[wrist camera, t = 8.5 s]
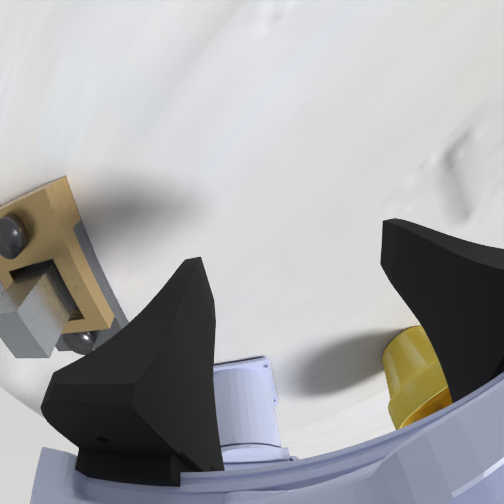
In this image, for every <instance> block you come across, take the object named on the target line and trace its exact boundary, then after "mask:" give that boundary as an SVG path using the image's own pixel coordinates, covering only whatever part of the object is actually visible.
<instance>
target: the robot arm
mask: <svg viewBox="0 0 504 504" xmlns="http://www.w3.org/2000/svg"><path fill="white" fill-rule="evenodd" d="M380 264H381V266H382V268H383V270H384V272H385V274H386V275H387V277H388V279H389V281H390V282H391V284H392V285H393V287H394V288H395V289H396V291H397V292H398V293H399V295H400V296H401V297H402V299H403V300H404V301H405V303H406V304H407V305H408V307H409V308H410V310H411V311H412V312H413V314H414V315H415V316H416V318H417V319H418V321H419V322H420V324H421V325H422V327H423V329H424V331H425V333H426V335H427V337H428V338H429V340H430V342H431V344H432V346H433V349H434V351H435V353H436V355H437V358H438V360H439V362H440V365H441V368H442V370H443V373H444V376H445V379H446V382H447V385H448V388H449V392H450V395H451V399H452V403H453V404H451V405H449V406H447V407H445V408H443V409H442V410H440V411H438V412H436V413H434V414H432V415H430V416H427V417H425V418H423V419H421V420H419V421H417V422H414V423H412V424H410V425H408V426H405V427H403V428H401V429H398V430H396V431H393V432H391V433H388V434H385V435H383V436H380V437H377V438H375V439H372V440H369V441H366V442H363V443H360V444H357V445H354V446H351V447H347V448H344V449H341V450H337V451H334V452H330V453H326V454H322V455H318V456H314V457H310V458H306V459H301V460H300V459H299V458H298V457H296V456H290V455H289V450H288V448H287V447H286V448H282V444H281V438H280V433H279V428H278V422H277V417H276V411H275V406H277V405H278V404H279V403H278V398H277V393H276V388H275V384H274V379H273V374H272V370H271V365H270V360H269V358H266V357H263V358H258V359H252V360H247V361H241V362H235V363H229V364H222V365H216V366H214V347H215V328H216V318H215V305H214V298H213V295H212V292H211V288H210V285H209V282H208V279H207V275H206V272H205V269H204V265H203V262H202V259H201V257H196V258H191V259H186V260H184V262H183V263H182V264H181V265H180V266H179V268H178V269H177V270H176V271H175V273H174V274H173V275H172V277H171V278H170V279H169V280H168V282H167V283H166V284H165V285H164V287H163V288H162V289H161V290H160V291H159V293H158V294H157V295H156V296H155V297H154V298H153V299H152V301H151V302H150V303H149V304H148V305H147V306H146V307H145V308H144V309H143V310H142V311H141V312H140V313H139V314H138V315H137V316H136V317H135V318H134V319H133V320H132V321H131V322H130V323H129V324H127V325H126V326H125V327H124V328H123V329H121V330H120V331H119V332H118V333H116V334H115V335H114V336H113V337H111V338H110V339H109V340H108V341H106V342H105V343H103V344H102V345H101V346H99V347H98V348H96V349H95V350H93V351H92V352H90V353H88V354H87V355H85V356H84V357H82V358H80V359H79V360H77V361H75V362H73V363H71V364H69V365H67V366H65V367H63V368H62V369H60V370H58V371H56V372H54V373H53V375H52V378H51V380H50V383H49V386H48V388H47V391H46V393H45V396H44V399H43V402H42V405H41V411H42V414H43V416H44V417H45V419H46V420H47V422H48V423H49V424H50V425H51V426H53V427H54V428H55V429H56V430H57V431H58V432H59V433H61V434H62V435H63V436H64V437H66V438H67V439H68V440H69V441H71V442H72V443H74V444H75V445H76V446H77V447H79V452H78V457H77V456H76V455H73V454H71V453H68V452H64V451H59V450H55V449H51V448H46V447H43V448H42V450H41V454H40V458H39V462H38V466H37V470H36V475H35V480H34V485H33V490H32V496H31V501H30V504H504V249H500V248H495V247H489V246H485V245H481V244H477V243H473V242H469V241H465V240H462V239H459V238H456V237H453V236H450V235H447V234H444V233H441V232H438V231H435V230H432V229H430V228H427V227H424V226H421V225H418V224H415V223H412V222H409V221H406V220H402V219H396V218H394V219H389V220H384V221H383V229H382V248H381V263H380Z"/></svg>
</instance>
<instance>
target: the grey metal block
mask: <svg viewBox="0 0 504 504" xmlns="http://www.w3.org/2000/svg"><path fill="white" fill-rule="evenodd" d="M76 305H77V304H76V302H75V301H74V299H73V297H72V295H71V293H70V292H69V290H68V288H67V286H66V284H65V282H64V280H63V278H62V276H61V274H60V272H59V270H58V268H57V266H56V264H55V262H54V260H53V259H49V260H46V261H42V262H39V263H35V264H32V265H28V266H26V267H25V268H24V269H23V270H22V271H21V273H20V274H19V275H18V276H17V277H16V278H15V280H14V281H13V282H12V283H11V284H10V286H9V287H8V288H7V289H6V290H5V292H4V293H3V294H2V295H1V297H0V338H1V339H2V340H3V342H4V343H5V345H6V346H7V347H8V349H9V350H10V351H11V352H12V354H13V355H14V356H15V358H50V356H51V353H52V351H53V349H54V347H55V345H56V343H57V341H58V339H59V337H60V335H61V333H62V331H63V329H64V327H65V325H66V323H67V321H68V319H69V318H70V316H71V314H72V312H73V310H74V308H75V306H76Z"/></svg>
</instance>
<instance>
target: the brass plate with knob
mask: <svg viewBox="0 0 504 504" xmlns="http://www.w3.org/2000/svg"><path fill="white" fill-rule="evenodd" d="M49 259H53V260H54V262H55V264H56V266H57V268H58V270H59V272H60V274H61V276H62V278H63V280H64V282H65V284H66V286H67V288H68V290H69V292H70V293H71V295H72V297H73V299H74V301H75V302H76V304H77V305H76V306H75V308H74V310H73V312H72V314H71V316H70V318H69V319H68V321H67V323H66V325H65V327H64V329H63V331H62V333H61V335H60V337H59V339H58V341H57V343H56V345H55V347H56V348H57V349H58V351H74V352H76V353H78V354H82V355H87V354H88V353H90V352H92V350H93V349H96V348H98V347H99V346H101V345H102V344H103V343H105V342H106V341H108V340H109V339H110V338H111V337H113V336H114V335H115V334H116V333H118V332H119V331H120V330H121V329H123V328H124V327H125V326H126V325H127V324H129V322H128V320H127V318H126V317H125V315H124V313H123V311H122V309H121V307H120V305H119V303H118V301H117V299H116V297H115V295H114V293H113V291H112V289H111V287H110V285H109V283H108V281H107V279H106V277H105V275H104V273H103V271H102V268H101V266H100V264H99V262H98V260H97V257H96V255H95V253H94V250H93V248H92V246H91V243H90V241H89V238H88V236H87V233H86V231H85V228H84V226H83V223H82V221H81V218H80V215H79V213H78V210H77V207H76V204H75V202H74V199H73V196H72V193H71V190H70V187H69V184H68V181H67V178H66V176H64V177H62V178H59V179H57V180H54V181H52V182H50V183H48V184H45V185H43V186H41V187H39V188H36V189H34V190H32V191H30V192H28V193H26V194H24V195H22V196H20V197H18V198H16V199H14V200H12V201H10V202H8V203H6V204H4V205H2V206H0V281H1V282H2V284H3V286H4V288H5V290H6V289H7V288H8V287H9V286H10V284H11V283H12V282H13V281H14V280H15V278H16V277H17V276H18V275H19V274H20V273H21V271H22V270H23V269H24V268H25V267H26V266H28V265H32V264H35V263H39V262H42V261H46V260H49Z"/></svg>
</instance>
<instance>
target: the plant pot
mask: <svg viewBox="0 0 504 504" xmlns="http://www.w3.org/2000/svg"><path fill="white" fill-rule="evenodd" d="M382 361H383V366H384V370H385V375H386V379H387V384H388V389H389V394H390V399H391V400H390V402H389V405H388V411H389V414H390V416H391V419H392V421H393V424H394V426H395V428H396V430H398V429H401V428H403V427H405V426H408V425H410V424H412V423H414V422H417V421H419V420H421V419H423V418H425V417H427V416H430V415H432V414H434V413H436V412H438V411H440V410H442V409H443V408H445V407H447V406H449V405H451V404H453V403H452V399H451V395H450V392H449V388H448V385H447V382H446V379H445V376H444V373H443V370H442V368H441V365H440V362H439V360H438V358H437V355H436V353H435V351H434V349H433V346H432V344H431V342H430V340H429V338H428V337H427V335H426V333H425V331H424V329H423V327H422V326H414V327H411V328H408V329H406V330H404V331H403V332H401V333H400V334H398V335H397V336H396V337H395V338H394V339H393V340H392V341H391V342H390V343H389V344H388V345H387V347H386V348H385V350H384V352H383V356H382Z"/></svg>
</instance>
